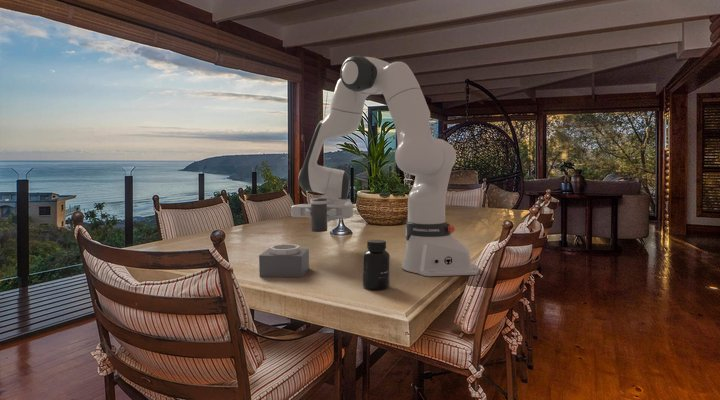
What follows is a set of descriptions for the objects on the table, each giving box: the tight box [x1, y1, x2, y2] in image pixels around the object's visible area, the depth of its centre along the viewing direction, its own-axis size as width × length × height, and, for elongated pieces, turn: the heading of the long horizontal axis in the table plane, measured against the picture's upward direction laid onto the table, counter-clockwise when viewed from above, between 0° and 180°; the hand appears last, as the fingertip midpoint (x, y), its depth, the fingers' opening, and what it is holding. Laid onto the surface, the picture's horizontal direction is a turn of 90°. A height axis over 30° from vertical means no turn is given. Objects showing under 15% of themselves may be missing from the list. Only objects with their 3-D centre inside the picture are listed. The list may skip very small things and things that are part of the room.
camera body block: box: [258, 243, 310, 278], centre depth 123 cm, size 12×10×8 cm
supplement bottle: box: [362, 239, 391, 291], centre depth 109 cm, size 7×7×12 cm
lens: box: [309, 197, 328, 233], centre depth 132 cm, size 5×5×10 cm
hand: (318, 213), depth 131 cm, fingers closed on lens, 5 cm apart
